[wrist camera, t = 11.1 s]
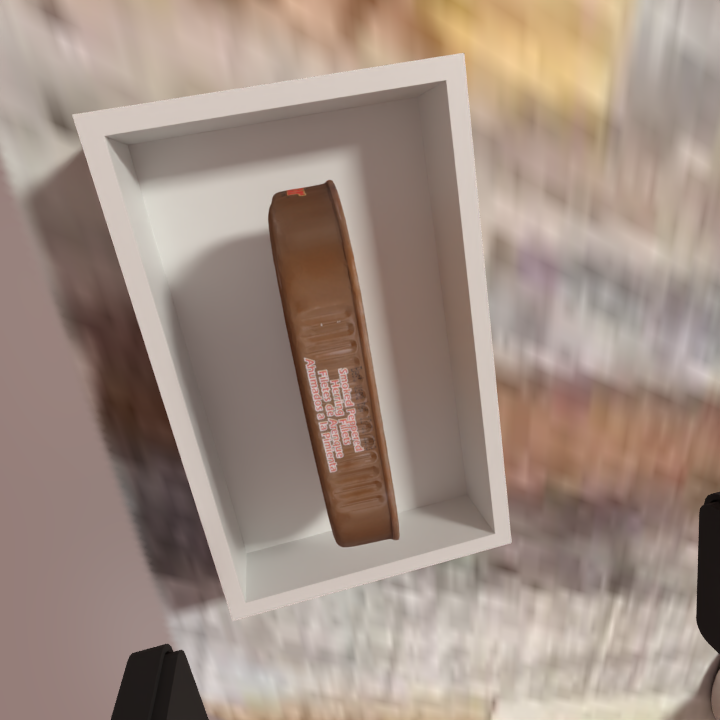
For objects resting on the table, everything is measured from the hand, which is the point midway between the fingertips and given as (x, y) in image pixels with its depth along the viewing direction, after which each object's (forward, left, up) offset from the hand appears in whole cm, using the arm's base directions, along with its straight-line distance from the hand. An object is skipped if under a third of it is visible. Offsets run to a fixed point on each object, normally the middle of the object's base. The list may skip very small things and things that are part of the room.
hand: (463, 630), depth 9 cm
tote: (0, 0, -19) cm, 19 cm away
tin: (0, 0, -18) cm, 18 cm away
